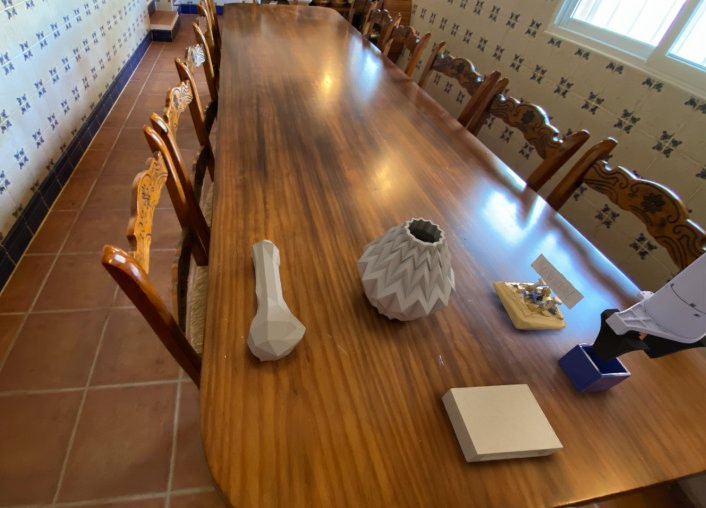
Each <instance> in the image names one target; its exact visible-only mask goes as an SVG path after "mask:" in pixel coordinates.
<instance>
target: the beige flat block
mask: <svg viewBox="0 0 706 508" xmlns="http://www.w3.org/2000/svg"><path fill="white" fill-rule="evenodd" d="M441 401H442V403H443V406H444V409H445V411H446V413H447V415H448V419H449V420H450V423H451V425H452V428H453V430H454V433H455V436H456V438H457V440H458V443H459V447H460V448H461V451H462V453H463V456H464V459H465V461H466V462H467V463H475V462H486V461H498V460H510V459H512V460H513V459H522V458H536V457H547V456H550V455H553V454H554V453H556V452H558V451H560V450H561V449H564V446H563V444H562V443H561V441H560V439H559V437H558V436H557V434H556V432H555V430H554V429H553V427H552V425H551V424H550V422H549V419H547V416H546V415H545V413H544V412H543V410H542V408H541V406H540V404H539V403H538V401H537V400H536V398H535V396H534V394H533V392H532V391H531V389H530V387H529V385H528V384H527V383H519V384H504V385H487V386H470V387H469V386H467V387H453V388H452V387H451V388H449V389H448V391H447V392H445V394H444V395H442V397H441Z"/></svg>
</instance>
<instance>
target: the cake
mask: <svg viewBox="0 0 706 508" xmlns="http://www.w3.org/2000/svg"><path fill="white" fill-rule="evenodd" d="M466 240H467V239H466V238H464V241H466ZM530 267H531V268H532V269H533V270H534V271H535V273H536V274H538V275H539V276H540V277H539V278H538V281H537V282H525V281H524V282H505V281H502V280H498V281H494V282H493V283H492V286H493V288H494V290H495V292H496V294H497V296H498V298H499V300H500V302H501V303H502V305H503V307H504V309H505V311H506V313H507V316H508V317H509V319H510V320H511V322H512V325H513V326H514V328H515V329H516V330H528V331H529V330H530V331H531V330H532V331H533V330H534V331H554V332H558V331H562V330H563V329H565V328H566V327H567V323H566V322H565V317H564V315H563V313H562V312H561V310H560V308H559V306H562V304H563V305H564V306H565V307H566V308H567V309H568V310H569V311H570V310H572V309H573V308H574V307H575V306H576V305H577V304H578V303H579V302H581V301H582V300H583V299H584V298H585V295H583V294H582V293H581V291H579V290H578V289H577V288H575V286H574V285H573V284H572V283H571V282H570V281H569V280H568V279H567V278H566V276H565V275H564V274H563V273H561V272H560V271H559V270H558V269H557V268H556V267H555V266H554V265H553V264H552V263H551V261H550V260H548V258H546V256H545V255H544V254H543V253H542V252H541V253H540V254H539V256H538V257H536V258H535V260H533V262H532V263H531V264H530ZM552 293H553V294H554V296H552Z"/></svg>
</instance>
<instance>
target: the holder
mask: <svg viewBox="0 0 706 508" xmlns="http://www.w3.org/2000/svg"><path fill="white" fill-rule="evenodd" d="M593 344H594V343H578V344H576V345H575V346H574V347H572V348H571V349H570V350H569V351H567V352H566V353H565V354H564V355H563V356H561V357H559V359H558V360H557V362H558V364H559V365H560V367H561V369H562V370H563V372H565V374H566V376H567V377H568V379H569V380H570V382H571V383H572V385H573V387H574V388H575V389H576V391H577V392H578V393H589V392H591V393H593V392H606V391H610V390H611V389H612V388H614V387H615V386H617V385H618V384H620V383H622V382H623V381H625V380H627V379H628V378H630V377H631V376H632V375H633V374H632V373H631V372H630V371H629V369H628V368H627V367H626V366H625V364H624V363H623V362H622V361H621V359H620V358H619V357H617V358H615V359H612V360H608V361H601V360H600V358H599V357H598V356H597V354H596V353H595V352H594V350H593V349H592V346H593Z"/></svg>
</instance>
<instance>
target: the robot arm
mask: <svg viewBox="0 0 706 508" xmlns="http://www.w3.org/2000/svg"><path fill="white" fill-rule="evenodd" d="M636 297H637V298H638V299H639V300H640V301H638V302H637V303H635V304H634V305H631V306H630V307H629V308H627V309H625V310H623V311H620V310H619V308H606V309H604V310H603V311H602V312H601V313H600V315H599V316H600V328H599V331H598V333H597V336H596V338H595V340H594V341H593V343H592V344H593V346H592V349H593V350H594V352H595V353H596V354H597V356H598V357H599V358H600V360H601V361H608V360H612V359H615V358H617V357H618V358H619V357H621V356H623V355H625V354H628V353H633V352H637V351H643V353H645V354H646V356H647V357H648V358H649V359H654V360H655V359H659V358H663V357H666V356H669V355H672V354H675V353H679V352H682V351H686V350H691V349H697V348H706V252H704V253H703V254H701V255H700V256H699V257H698V258H697V259H695V260H694V261H693V262H691V264H689V265H688V266H686V267H685V268H684V269H683V270H682V271H680V272H679V273H678V274H677V275H675V276H674V277H673V278H672V279H670V281H668V282H667V283H665V285H663V286H662V287H661V288H660V289H658V290H657V291H656V292H655V293H654V292H653V291H648V290H643V291H639V292H638V293H636ZM641 333H644V334H646V335H645V336H644V337H643V338H641V336H642V334H641Z"/></svg>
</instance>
